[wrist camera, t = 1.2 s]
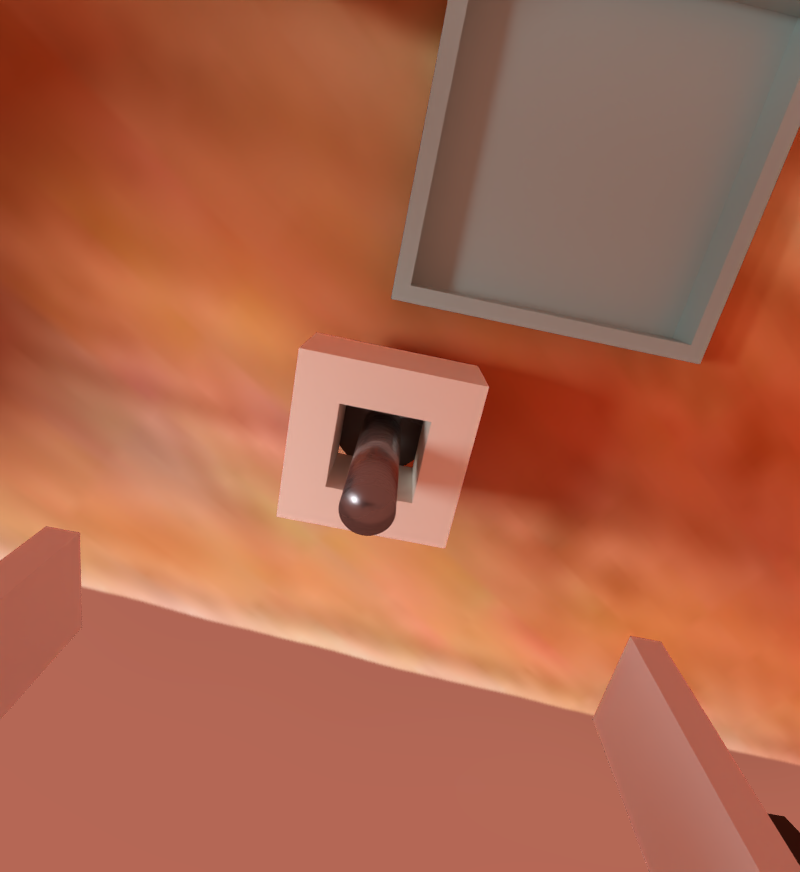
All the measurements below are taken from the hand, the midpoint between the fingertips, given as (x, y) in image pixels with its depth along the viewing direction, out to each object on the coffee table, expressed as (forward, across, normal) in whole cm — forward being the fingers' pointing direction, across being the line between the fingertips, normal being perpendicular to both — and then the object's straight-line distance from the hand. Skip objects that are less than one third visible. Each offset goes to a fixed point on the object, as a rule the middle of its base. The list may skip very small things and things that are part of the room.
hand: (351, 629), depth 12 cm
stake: (+18, 0, 0) cm, 18 cm away
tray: (+18, +7, +14) cm, 24 cm away
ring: (+15, 0, 0) cm, 15 cm away
